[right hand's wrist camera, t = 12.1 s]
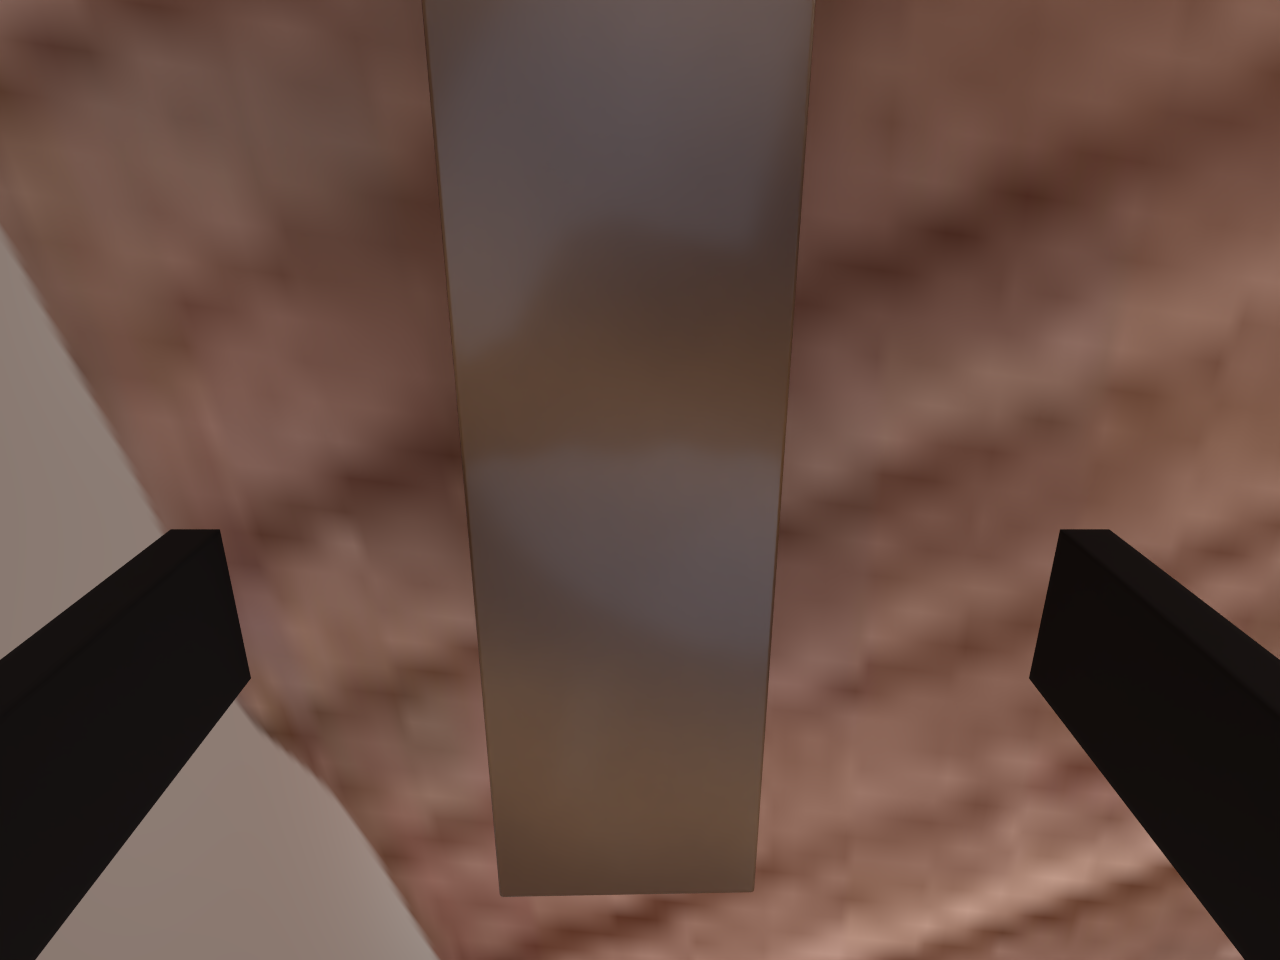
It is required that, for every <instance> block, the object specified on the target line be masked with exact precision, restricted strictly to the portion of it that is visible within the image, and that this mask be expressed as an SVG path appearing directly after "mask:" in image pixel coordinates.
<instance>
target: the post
mask: <svg viewBox="0 0 1280 960" xmlns="http://www.w3.org/2000/svg"><path fill="white" fill-rule="evenodd" d="M815 3H816V0H422V10H423V22H424V33H425V44H426V56H427V67H428V79H429V90H430V102H431V113H432V124H433V136H434V147H435V159H436V170H437V182H438V193H439V204H440V216H441V227H442V239H443V250H444V262H445V273H446V284H447V296H448V307H449V319H450V330H451V342H452V353H453V364H454V376H455V387H456V399H457V410H458V422H459V433H460V444H461V456H462V467H463V479H464V490H465V502H466V513H467V524H468V536H469V547H470V559H471V570H472V582H473V593H474V604H475V616H476V627H477V639H478V650H479V662H480V673H481V684H482V696H483V707H484V719H485V730H486V742H487V753H488V764H489V776H490V787H491V799H492V810H493V822H494V833H495V844H496V856H497V867H498V879H499V890H500V895H501V896H502V897H518V896H571V895H623V894H676V893H729V892H753V891H754V883H755V869H756V854H757V840H758V825H759V811H760V796H761V782H762V768H763V753H764V739H765V724H766V710H767V696H768V681H769V667H770V652H771V638H772V623H773V609H774V595H775V580H776V566H777V551H778V537H779V523H780V508H781V494H782V479H783V465H784V450H785V436H786V422H787V407H788V393H789V378H790V364H791V349H792V335H793V321H794V306H795V292H796V277H797V263H798V249H799V234H800V220H801V205H802V191H803V176H804V162H805V148H806V133H807V119H808V104H809V90H810V76H811V61H812V47H813V32H814V18H815Z"/></svg>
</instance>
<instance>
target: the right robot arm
mask: <svg viewBox="0 0 1280 960" xmlns="http://www.w3.org/2000/svg"><path fill="white" fill-rule="evenodd" d="M250 679H251V676H250V672H249V667H248V662H247V657H246V652H245V648H244V643H243V638H242V633H241V629H240V624H239V619H238V614H237V609H236V605H235V600H234V595H233V590H232V586H231V581H230V576H229V571H228V566H227V562H226V557H225V552H224V547H223V543H222V538H221V533H220V529H171V530H169V531H168V532H167V533H165V534H164V535H163V536H162V537H160V538H159V539H158V540H156V541H155V542H154V543H152V544H151V545H150V546H149V547H147V548H146V549H145V550H143V551H142V552H141V553H139V554H138V555H137V556H135V557H134V558H133V559H132V560H130V561H129V562H128V563H126V564H125V565H124V566H122V567H121V568H120V569H118V570H117V571H116V572H115V573H113V574H112V575H111V576H109V577H108V578H107V579H105V580H104V581H103V582H101V583H100V584H99V585H98V586H96V587H95V588H94V589H92V590H91V591H90V592H88V593H87V594H86V595H85V596H83V597H82V598H81V599H79V600H78V601H77V602H75V603H74V604H73V605H71V606H70V607H69V608H68V609H66V610H65V611H64V612H62V613H61V614H60V615H58V616H57V617H56V618H54V619H53V620H52V621H50V622H49V623H48V624H47V625H45V626H44V627H43V628H41V629H40V630H39V631H37V632H36V633H35V634H34V635H32V636H31V637H30V638H28V639H27V640H26V641H24V642H23V643H22V644H20V645H19V646H18V647H17V648H15V649H14V650H13V651H11V652H10V653H9V654H7V655H6V656H5V657H3V658H2V659H1V660H0V960H35V959H36V958H37V957H38V955H39V954H40V953H41V952H42V950H43V949H44V948H45V946H46V945H47V944H48V942H49V941H50V940H51V938H52V937H53V936H54V935H55V933H56V932H57V931H58V929H59V928H60V927H61V925H62V924H63V923H64V921H65V920H66V919H67V918H68V916H69V915H70V914H71V912H72V911H73V910H74V908H75V907H76V906H77V905H78V903H79V902H80V901H81V899H82V898H83V897H84V895H85V894H86V893H87V891H88V890H89V889H90V888H91V886H92V885H93V884H94V882H95V881H96V880H97V878H98V877H99V876H100V875H101V873H102V872H103V871H104V869H105V868H106V867H107V865H108V864H109V863H110V861H111V860H112V859H113V858H114V856H115V855H116V854H117V852H118V851H119V850H120V848H121V847H122V846H123V845H124V843H125V842H126V841H127V839H128V838H129V837H130V835H131V834H132V833H133V831H134V830H135V829H136V828H137V826H138V825H139V824H140V822H141V821H142V820H143V818H144V817H145V816H146V815H147V813H148V812H149V811H150V809H151V808H152V807H153V805H154V804H155V803H156V801H157V800H158V799H159V798H160V796H161V795H162V794H163V792H164V791H165V790H166V788H167V787H168V786H169V784H170V783H171V782H172V781H173V779H174V778H175V777H176V775H177V774H178V773H179V771H180V770H181V769H182V767H183V766H184V765H185V764H186V762H187V761H188V760H189V758H190V757H191V756H192V754H193V753H194V752H195V751H196V749H197V748H198V747H199V745H200V744H201V743H202V741H203V740H204V739H205V737H206V736H207V735H208V734H209V732H210V731H211V730H212V728H213V727H214V726H215V724H216V723H217V722H218V721H219V719H220V718H221V717H222V715H223V714H224V713H225V711H226V710H227V709H228V707H229V706H230V705H231V704H232V702H233V701H234V700H235V698H236V697H237V696H238V694H239V693H240V692H241V691H242V689H243V688H244V687H245V685H246V684H247V683H248V681H249V680H250ZM1029 679H1030V680H1031V681H1032V683H1033V684H1034V685H1035V687H1036V688H1037V689H1038V691H1039V692H1040V693H1041V694H1042V696H1043V697H1044V698H1045V700H1046V701H1047V702H1048V704H1049V705H1050V706H1051V707H1052V709H1053V710H1054V711H1055V713H1056V714H1057V715H1058V717H1059V718H1060V719H1061V721H1062V722H1063V723H1064V724H1065V726H1066V727H1067V728H1068V730H1069V731H1070V732H1071V734H1072V735H1073V736H1074V738H1075V739H1076V740H1077V741H1078V743H1079V744H1080V745H1081V747H1082V748H1083V749H1084V751H1085V752H1086V753H1087V754H1088V756H1089V757H1090V758H1091V760H1092V761H1093V762H1094V764H1095V765H1096V766H1097V768H1098V769H1099V770H1100V771H1101V773H1102V774H1103V775H1104V777H1105V778H1106V779H1107V781H1108V782H1109V783H1110V784H1111V786H1112V787H1113V788H1114V790H1115V791H1116V792H1117V794H1118V795H1119V796H1120V798H1121V799H1122V800H1123V801H1124V803H1125V804H1126V805H1127V807H1128V808H1129V809H1130V811H1131V812H1132V813H1133V815H1134V816H1135V817H1136V818H1137V820H1138V821H1139V822H1140V824H1141V825H1142V826H1143V828H1144V829H1145V830H1146V831H1147V833H1148V834H1149V835H1150V837H1151V838H1152V839H1153V841H1154V842H1155V843H1156V845H1157V846H1158V847H1159V848H1160V850H1161V851H1162V852H1163V854H1164V855H1165V856H1166V858H1167V859H1168V860H1169V862H1170V863H1171V864H1172V865H1173V867H1174V868H1175V869H1176V871H1177V872H1178V873H1179V875H1180V876H1181V877H1182V878H1183V880H1184V881H1185V882H1186V884H1187V885H1188V886H1189V888H1190V889H1191V890H1192V892H1193V893H1194V894H1195V895H1196V897H1197V898H1198V899H1199V901H1200V902H1201V903H1202V905H1203V906H1204V907H1205V908H1206V910H1207V911H1208V912H1209V914H1210V915H1211V916H1212V918H1213V919H1214V920H1215V922H1216V923H1217V924H1218V925H1219V927H1220V928H1221V929H1222V931H1223V932H1224V933H1225V935H1226V936H1227V937H1228V939H1229V940H1230V941H1231V942H1232V944H1233V945H1234V946H1235V948H1236V949H1237V950H1238V952H1239V953H1240V954H1241V955H1242V957H1243V958H1244V959H1245V960H1280V660H1279V659H1278V658H1277V657H1275V656H1274V655H1273V654H1271V653H1270V652H1269V651H1267V650H1266V649H1265V648H1263V647H1262V646H1261V645H1260V644H1258V643H1257V642H1256V641H1254V640H1253V639H1252V638H1250V637H1249V636H1248V635H1246V634H1245V633H1244V632H1243V631H1241V630H1240V629H1239V628H1237V627H1236V626H1235V625H1233V624H1232V623H1231V622H1230V621H1228V620H1227V619H1226V618H1224V617H1223V616H1222V615H1220V614H1219V613H1218V612H1216V611H1215V610H1214V609H1213V608H1211V607H1210V606H1209V605H1207V604H1206V603H1205V602H1203V601H1202V600H1201V599H1199V598H1198V597H1197V596H1196V595H1194V594H1193V593H1192V592H1190V591H1189V590H1188V589H1186V588H1185V587H1184V586H1182V585H1181V584H1180V583H1179V582H1177V581H1176V580H1175V579H1173V578H1172V577H1171V576H1169V575H1168V574H1167V573H1165V572H1164V571H1163V570H1162V569H1160V568H1159V567H1158V566H1156V565H1155V564H1154V563H1152V562H1151V561H1150V560H1148V559H1147V558H1146V557H1145V556H1143V555H1142V554H1141V553H1139V552H1138V551H1137V550H1135V549H1134V548H1133V547H1132V546H1130V545H1129V544H1128V543H1126V542H1125V541H1124V540H1122V539H1121V538H1120V537H1118V536H1117V535H1116V534H1115V533H1113V532H1112V531H1111V530H1109V529H1060V533H1059V538H1058V543H1057V547H1056V552H1055V557H1054V562H1053V566H1052V571H1051V576H1050V581H1049V586H1048V590H1047V595H1046V600H1045V605H1044V609H1043V614H1042V619H1041V624H1040V629H1039V633H1038V638H1037V643H1036V648H1035V652H1034V657H1033V662H1032V667H1031V672H1030V676H1029Z"/></svg>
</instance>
